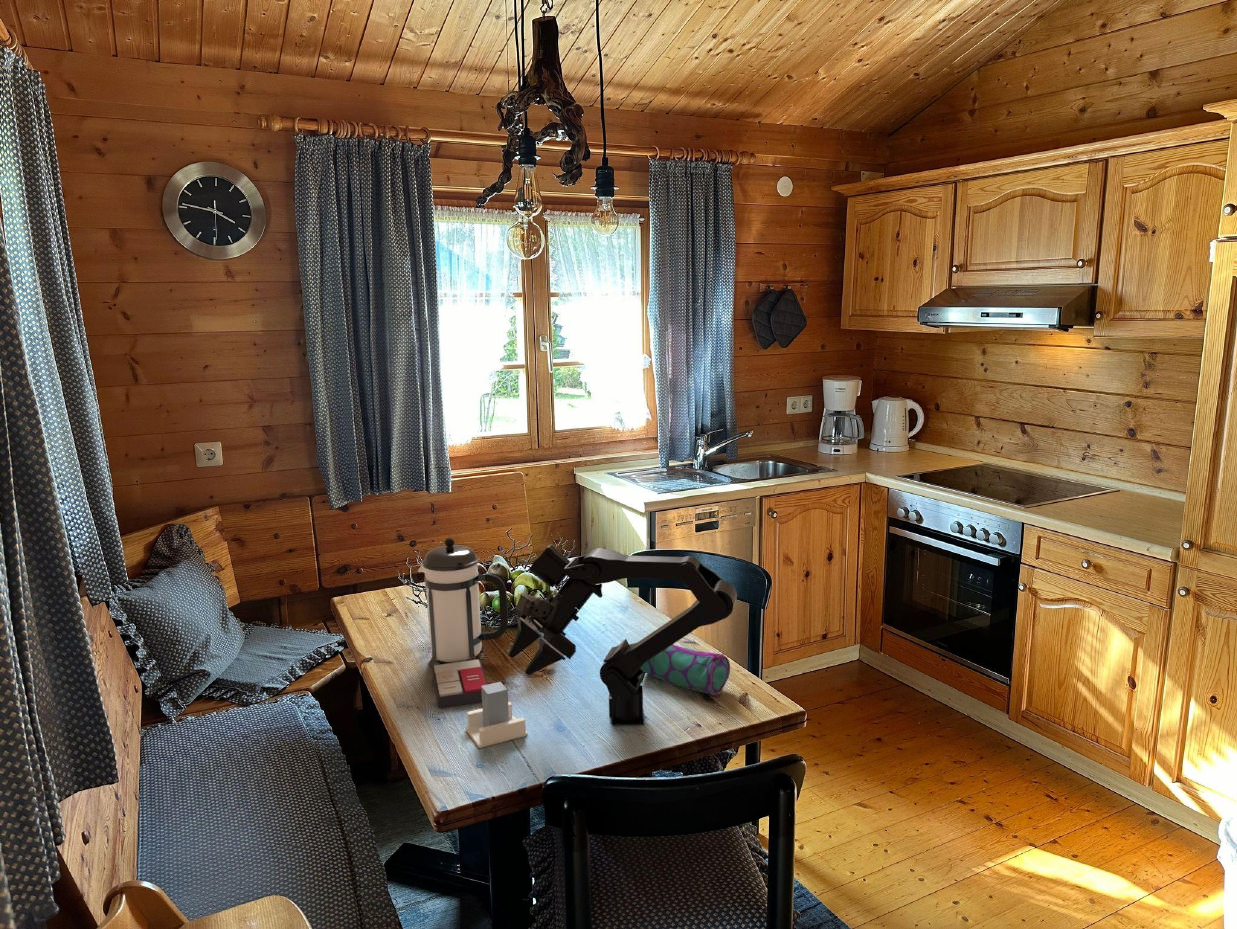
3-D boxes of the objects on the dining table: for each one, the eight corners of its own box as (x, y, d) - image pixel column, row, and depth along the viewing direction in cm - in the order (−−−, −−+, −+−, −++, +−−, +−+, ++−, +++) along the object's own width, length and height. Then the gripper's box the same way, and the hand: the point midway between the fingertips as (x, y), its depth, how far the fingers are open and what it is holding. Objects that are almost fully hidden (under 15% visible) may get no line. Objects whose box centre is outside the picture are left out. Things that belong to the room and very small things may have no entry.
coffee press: (448, 680, 198) (439, 552, 192) (413, 658, 209) (404, 537, 203) (511, 657, 209) (505, 536, 203) (475, 638, 221) (468, 523, 215)
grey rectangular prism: (502, 723, 176) (500, 681, 174) (509, 732, 173) (507, 689, 171) (483, 728, 174) (481, 686, 173) (490, 736, 171) (487, 694, 169)
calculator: (437, 695, 183) (431, 663, 197) (438, 713, 184) (432, 680, 198) (490, 687, 186) (480, 656, 200) (490, 705, 187) (481, 673, 201)
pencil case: (633, 678, 197) (632, 638, 195) (657, 664, 203) (656, 625, 202) (711, 704, 184) (711, 661, 182) (733, 689, 190) (733, 647, 189)
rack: (512, 717, 180) (511, 701, 179) (528, 736, 172) (527, 719, 171) (465, 729, 175) (464, 712, 175) (479, 749, 168) (478, 731, 167)
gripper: (523, 566, 180) (474, 627, 177) (558, 593, 163) (505, 661, 161) (560, 596, 185) (512, 656, 182) (598, 625, 168) (546, 691, 166)
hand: (518, 665), depth 173 cm, fingers open, 9 cm apart
